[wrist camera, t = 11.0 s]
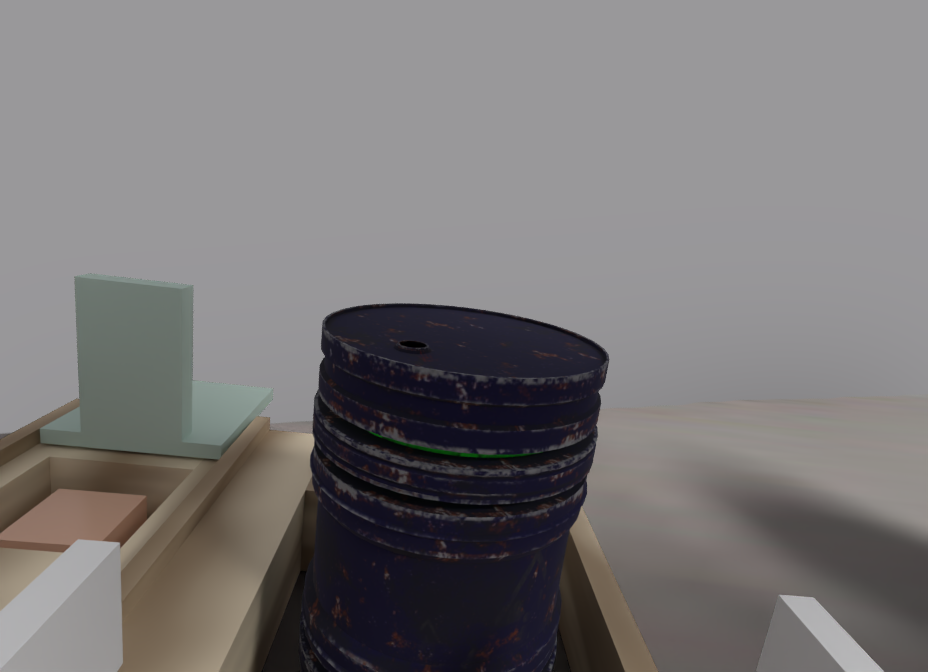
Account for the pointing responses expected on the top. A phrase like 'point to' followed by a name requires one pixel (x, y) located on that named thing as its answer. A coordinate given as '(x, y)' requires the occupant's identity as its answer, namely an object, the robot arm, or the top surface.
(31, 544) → the block
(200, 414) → the cover
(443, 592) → the dark blue barrel
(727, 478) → the top surface
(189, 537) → the puzzle board
